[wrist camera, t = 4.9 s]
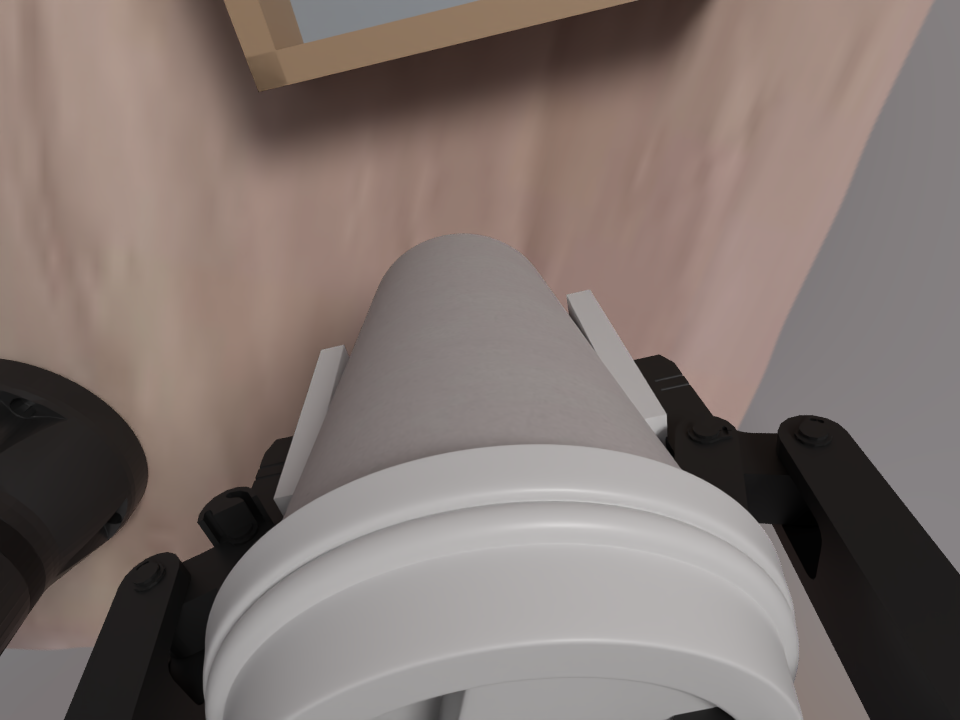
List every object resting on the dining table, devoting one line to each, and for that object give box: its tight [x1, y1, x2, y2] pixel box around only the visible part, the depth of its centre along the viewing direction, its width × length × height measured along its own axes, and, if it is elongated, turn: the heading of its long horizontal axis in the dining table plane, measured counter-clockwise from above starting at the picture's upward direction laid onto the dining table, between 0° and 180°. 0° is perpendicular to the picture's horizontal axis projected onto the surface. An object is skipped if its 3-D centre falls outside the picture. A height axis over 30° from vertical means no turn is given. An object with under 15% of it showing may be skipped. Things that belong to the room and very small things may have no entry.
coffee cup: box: [203, 234, 803, 720], centre depth 14 cm, size 10×10×15 cm
